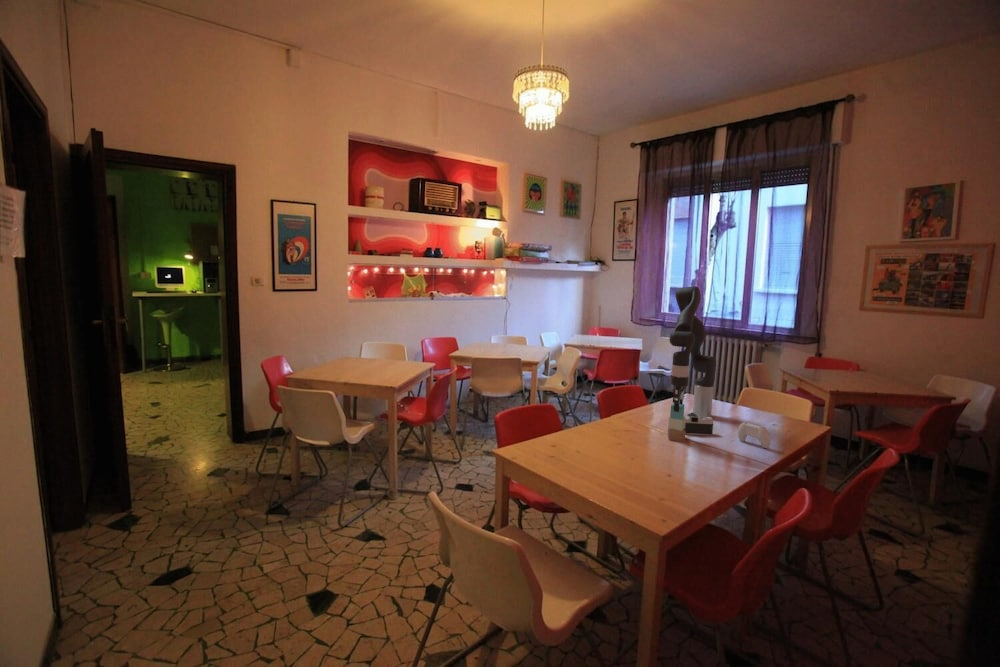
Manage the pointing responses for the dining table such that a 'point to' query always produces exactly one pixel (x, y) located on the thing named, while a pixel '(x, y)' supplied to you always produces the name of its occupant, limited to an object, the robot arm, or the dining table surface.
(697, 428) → the camera
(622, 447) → the dining table surface
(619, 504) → the dining table surface
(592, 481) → the dining table surface
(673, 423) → the sage block
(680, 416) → the teal block
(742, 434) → the game controller
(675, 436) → the walnut base block
